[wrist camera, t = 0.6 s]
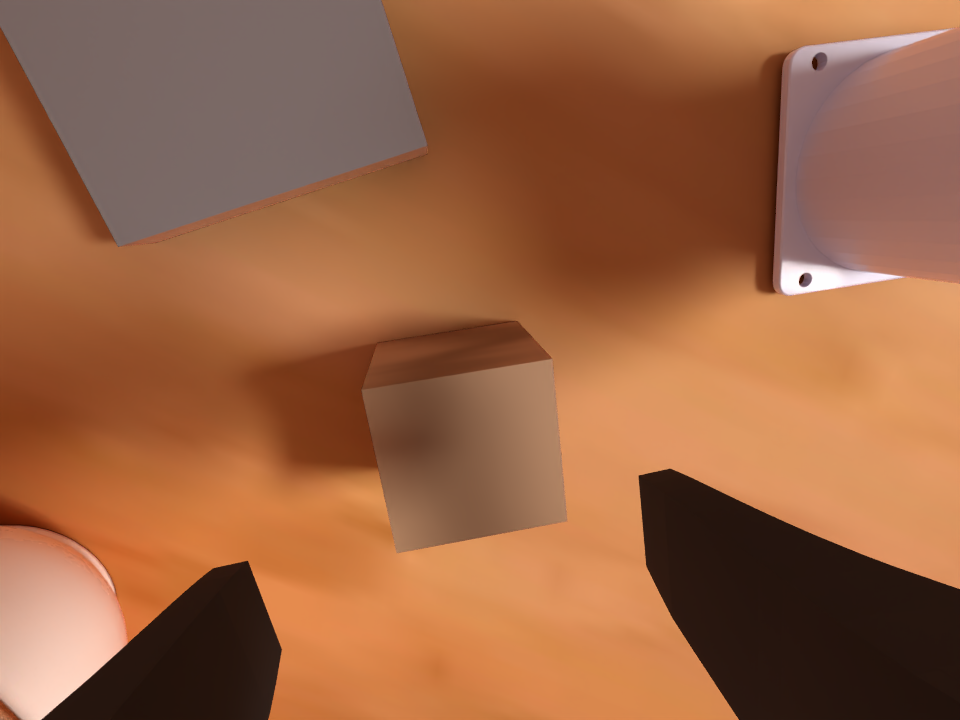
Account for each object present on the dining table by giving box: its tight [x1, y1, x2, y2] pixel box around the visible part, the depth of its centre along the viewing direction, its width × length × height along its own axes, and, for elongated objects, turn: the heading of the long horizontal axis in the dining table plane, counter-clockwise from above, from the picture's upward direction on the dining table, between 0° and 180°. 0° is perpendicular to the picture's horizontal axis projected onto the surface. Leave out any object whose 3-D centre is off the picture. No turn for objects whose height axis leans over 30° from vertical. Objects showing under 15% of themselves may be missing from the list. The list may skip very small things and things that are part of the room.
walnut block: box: [361, 321, 567, 553], centre depth 16 cm, size 5×5×5 cm
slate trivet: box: [0, 0, 428, 247], centre depth 13 cm, size 9×9×2 cm
